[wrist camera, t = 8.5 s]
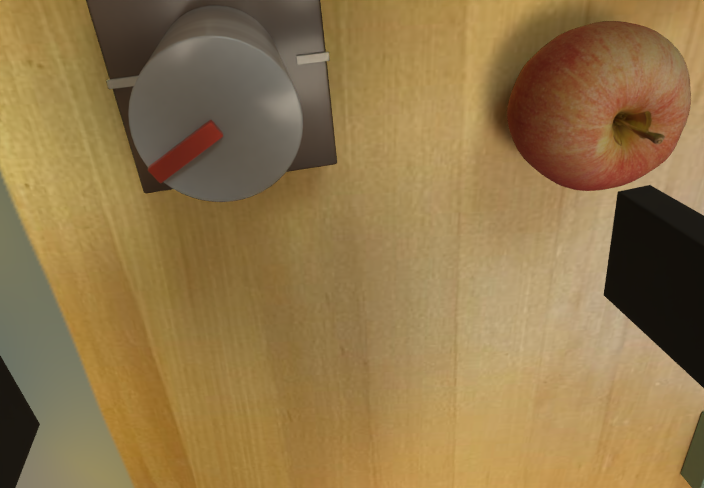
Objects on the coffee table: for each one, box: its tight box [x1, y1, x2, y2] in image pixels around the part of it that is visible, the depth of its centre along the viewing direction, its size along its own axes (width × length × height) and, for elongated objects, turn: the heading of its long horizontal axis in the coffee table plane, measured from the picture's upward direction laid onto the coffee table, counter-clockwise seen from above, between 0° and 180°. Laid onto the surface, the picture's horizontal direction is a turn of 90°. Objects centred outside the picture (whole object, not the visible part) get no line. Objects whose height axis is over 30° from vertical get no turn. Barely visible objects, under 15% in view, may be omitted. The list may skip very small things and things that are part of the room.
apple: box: [507, 21, 691, 191], centre depth 26 cm, size 8×8×8 cm
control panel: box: [86, 0, 337, 193], centre depth 24 cm, size 10×9×3 cm
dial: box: [128, 5, 303, 202], centre depth 19 cm, size 5×5×8 cm
